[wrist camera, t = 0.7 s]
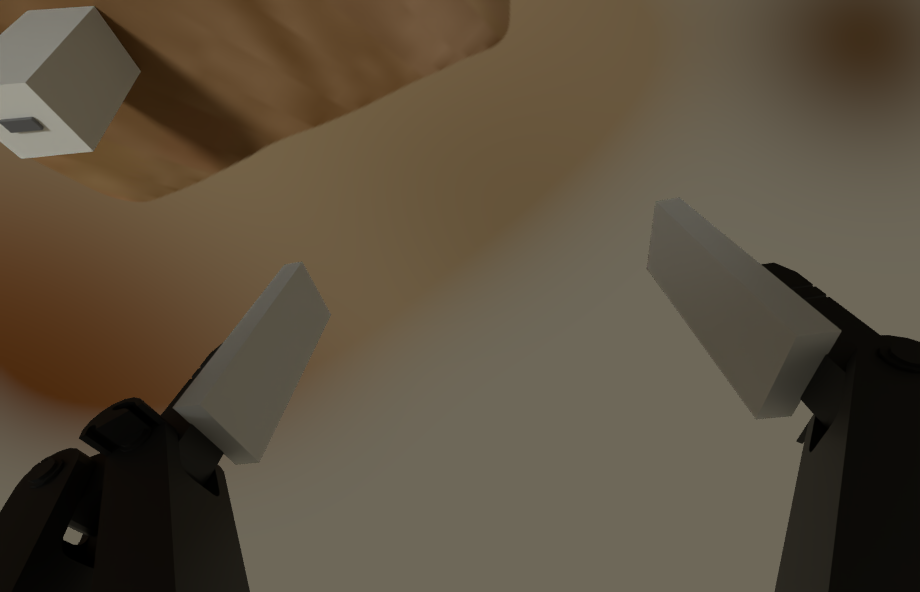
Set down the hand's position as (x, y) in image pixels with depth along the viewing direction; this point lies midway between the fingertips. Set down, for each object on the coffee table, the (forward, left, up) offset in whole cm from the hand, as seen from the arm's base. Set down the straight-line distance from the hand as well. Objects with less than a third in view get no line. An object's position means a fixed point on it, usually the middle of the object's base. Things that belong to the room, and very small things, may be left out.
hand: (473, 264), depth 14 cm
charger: (-21, -19, -32) cm, 42 cm away
